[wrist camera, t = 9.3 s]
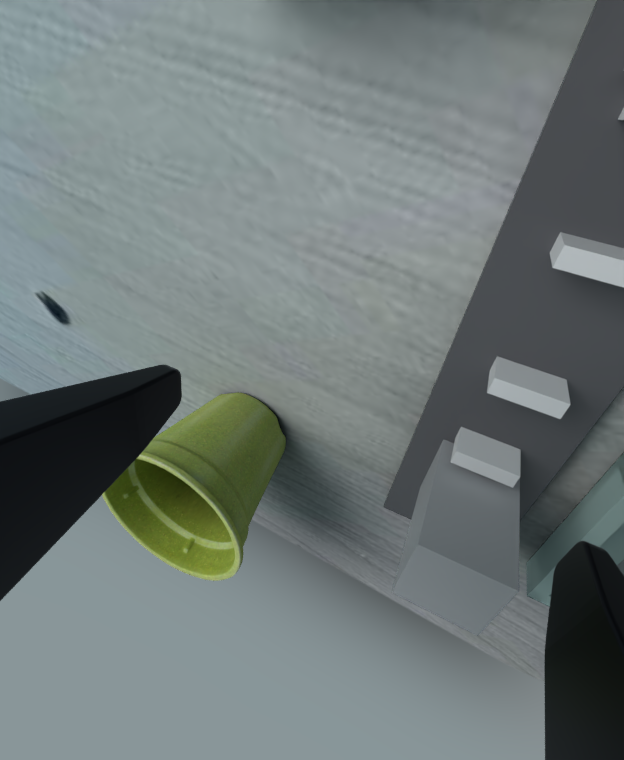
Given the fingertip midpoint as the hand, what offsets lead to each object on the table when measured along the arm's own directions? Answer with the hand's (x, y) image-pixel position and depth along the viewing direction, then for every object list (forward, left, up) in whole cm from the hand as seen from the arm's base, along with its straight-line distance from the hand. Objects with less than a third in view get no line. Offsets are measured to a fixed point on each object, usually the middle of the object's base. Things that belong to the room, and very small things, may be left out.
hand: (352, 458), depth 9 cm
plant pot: (+9, +14, -13) cm, 21 cm away
